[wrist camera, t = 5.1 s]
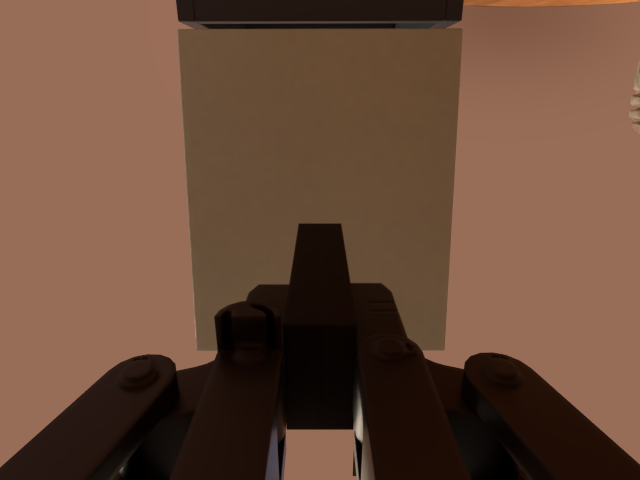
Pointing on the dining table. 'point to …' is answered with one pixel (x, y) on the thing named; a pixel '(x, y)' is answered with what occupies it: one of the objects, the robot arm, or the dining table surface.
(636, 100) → the carving
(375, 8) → the dark grey box
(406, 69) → the cover
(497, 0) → the dining table surface
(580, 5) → the dining table surface
